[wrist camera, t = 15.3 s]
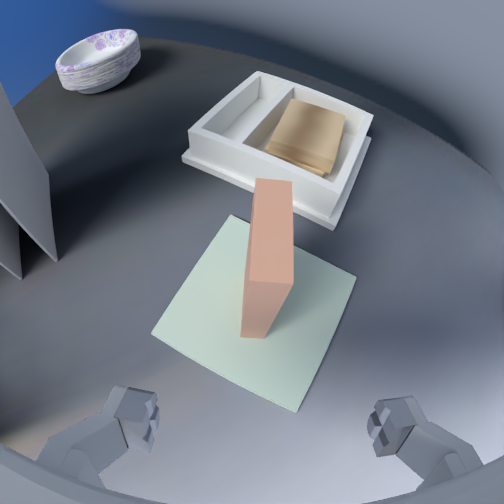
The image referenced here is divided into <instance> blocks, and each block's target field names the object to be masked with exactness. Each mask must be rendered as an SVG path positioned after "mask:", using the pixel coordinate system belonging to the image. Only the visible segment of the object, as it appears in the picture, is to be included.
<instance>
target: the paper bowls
mask: <svg viewBox="0 0 504 504" xmlns="http://www.w3.org/2000/svg"><path fill="white" fill-rule="evenodd" d="M140 57H141V53H140V46H139V41H138V35H137V33H136V32H135V31H133V30H129V29H118V30H111V31H106V32H102V33H99V34H96V35H93V36H91V37H88V38H86V39H84V40H82V41H80V42H78V43H76V44H75V45H73V46H72V47H70V48H69V49H67V50H66V51H65V52H64V53H63V54H62V55H61V56H60V57H59V58H58V60H57V62H56V69H57V72H58V75H59V78H60V81H61V83H62V86H63V87H64V88H65V89H68V90H77V91H78V92H80V93H83V94H94V93H99V92H102V91H105V90H108V89H110V88H112V87H114V86H116V85H117V84H119V83H120V82H122V81H123V80H124V79H125V78H126V77H127V76H128V75H129V73H130V70H131V69H132V68H133V67H134V66H135V65H136V64H137V63H138V61H139V60H140Z"/></svg>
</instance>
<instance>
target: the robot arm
mask: <svg viewBox="0 0 504 504" xmlns="http://www.w3.org/2000/svg"><path fill="white" fill-rule="evenodd" d="M156 402H157V395H156V393H155V392H150V391H145V390H141V389H136V388H131V387H126V386H122V385H118V384H117V385H116V386H114V387H113V389H112V391H111V393H110V395H109V397H108V399H107V401H106V403H105V405H104V407H103V409H102V411H101V413H100V414H99V413H96V414H94V415H92V416H90V417H88V418H86V419H84V420H83V421H81V422H79V423H77V424H75V425H73V426H71V427H69V428H67V429H65V430H64V431H62V432H60V433H58V434H56V435H54V436H52V437H50V438H49V439H48V441H47V443H46V445H45V446H44V448H43V450H42V452H41V453H40V455H39V457H38V459H37V461H34V460H32V459H30V458H28V457H26V456H24V455H22V454H20V453H18V452H16V451H14V450H12V449H10V448H9V447H7V446H5V445H3V444H2V443H0V504H166V503H161V502H156V501H151V500H146V499H142V498H138V497H133V496H130V495H126V494H122V493H118V492H115V491H111V490H108V489H106V487H105V486H104V484H103V482H102V481H101V479H100V478H99V476H98V474H99V473H100V472H101V471H103V470H104V469H105V468H106V467H108V466H109V465H110V464H111V463H113V462H114V461H115V460H116V459H118V458H119V457H120V456H121V455H123V454H124V453H125V452H126V451H128V449H132V450H137V451H142V452H147V453H151V449H152V446H153V442H154V436H153V433H154V432H156V431H157V429H158V425H159V418H160V417H159V407H158V406H157V405H156ZM374 408H375V410H376V411H375V412H373V413H372V414H371V415H370V417H369V419H368V424H367V429H368V433H369V436H370V437H371V438H372V439H374V443H373V447H374V450H375V453H376V456H377V457H382V456H388V455H394V454H396V456H397V457H398V458H399V459H401V460H402V461H403V462H404V463H405V464H406V465H407V466H409V467H410V468H411V469H412V470H413V471H414V472H415V473H417V474H418V475H419V476H420V477H421V478H422V479H424V481H423V482H422V483H421V484H420V485H419V486H418V487H417V489H416V491H414V492H410V493H407V494H403V495H399V496H395V497H391V498H387V499H383V500H378V501H374V502H369V503H363V504H504V455H503V456H502V457H500V458H498V459H496V460H494V461H492V462H490V463H487V464H485V465H483V463H482V462H481V460H480V458H479V456H478V455H477V453H476V451H475V450H474V448H473V446H472V445H470V444H469V443H467V442H465V441H463V440H462V439H460V438H458V437H456V436H455V435H453V434H451V433H450V432H448V431H446V430H444V429H443V428H441V427H439V426H438V425H436V424H434V423H433V422H428V420H427V418H426V417H425V415H424V413H423V411H422V410H421V408H420V406H419V405H418V403H417V401H416V399H415V398H414V397H413V396H407V397H401V398H392V399H384V400H379V401H377V402H376V404H375V406H374Z"/></svg>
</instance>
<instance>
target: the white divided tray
mask: <svg viewBox="0 0 504 504" xmlns="http://www.w3.org/2000/svg"><path fill="white" fill-rule="evenodd" d="M292 98H293V99H296V100H299V101H303V102H306V103H309V104H313V105H316V106H319V107H322V108H325V109H328V110H331V111H334V112H337V113H340V114H342V115H345V116H346V117H345V121H344V126H343V130H344V131H345V134H344V137H343V139H342V142H341V144H340V146H339V148H338V150H337V154H336V158H335V162H334V164H333V167H332V169H331V172H330V174H329V173H327V172H326V173H325V175H324V177H323V178H321V177H319V176H317V175H315V174H313V173H311V172H308V171H306V170H304V169H302V168H300V167H297V166H295V165H293V164H291V163H288V162H286V161H284V160H281V159H279V158H277V157H274V156H272V155H270V154H267V153H265V152H264V148H265V147H266V146H267V144H268V143H269V142H270V138H271V136H272V135H273V133H274V131H275V129H276V127H277V125H278V123H279V121H280V119H281V117H282V116H283V114H284V112H285V110H286V108H287V106H288V104H289V102H290V101H291V99H292ZM373 116H374V115H372V114H369V113H367V112H365V111H363V110H361V109H359V108H356V107H354V106H352V105H350V104H347V103H345V102H343V101H340V100H338V99H336V98H333V97H331V96H328V95H326V94H323V93H321V92H318V91H316V90H313V89H310V88H308V87H305V86H302V85H299V84H296V83H294V82H291V81H288V80H285V79H282V78H279V77H276V76H272V75H269V74H266V73H263V72H259V71H256V72H255V73H254V74H253V75H251V76H250V77H249V78H248V79H246V80H245V81H244V82H243V83H241V84H240V85H239V86H238V87H236V88H235V89H234V90H233V91H232V92H230V93H229V94H228V95H227V96H226V97H225V98H223V99H222V100H221V101H220V102H219V103H218V104H216V105H215V106H214V107H213V108H212V109H211V110H210V111H208V112H207V113H206V114H205V115H204V116H203V117H202V118H201V119H200V120H199V121H197V122H196V123H195V124H194V125H193V126H192V127H191V128H190V129H189V130H188V136H189V145H190V148H189V149H188V150H187V151H186V152H185V153H184V154H183V155H182V156H181V157H182V162H184V163H186V164H188V165H191V166H193V167H195V168H198V169H200V170H202V171H205V172H207V173H209V174H212V175H214V176H216V177H219V178H221V179H223V180H226V181H228V182H230V183H232V184H235V185H237V186H239V187H241V188H243V189H246V190H248V191H250V192H252V193H254V189H255V180H256V178H264V179H275V180H285V181H292V198H293V212H295V213H297V214H299V215H301V216H303V217H305V218H307V219H309V220H311V221H314V222H316V223H318V224H320V225H322V226H324V227H326V228H328V229H330V230H332V231H334V229H335V227H336V225H337V223H338V220H339V218H340V216H341V213H342V211H343V209H344V206H345V204H346V202H347V199H348V197H349V194H350V192H351V189H352V187H353V185H354V182H355V180H356V177H357V175H358V172H359V170H360V167H361V165H362V162H363V159H364V157H365V154H366V152H367V149H368V146H369V144H370V141H371V138H370V137H368V136H366V133H367V131H368V128H369V126H370V123H371V121H372V118H373Z"/></svg>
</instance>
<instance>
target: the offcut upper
mask: <svg viewBox="0 0 504 504" xmlns="http://www.w3.org/2000/svg"><path fill="white" fill-rule="evenodd" d="M345 117H346V116H345V115H342V114H340V113H337V112H334V111H331V110H328V109H325V108H322V107H319V106H316V105H313V104H309V103H306V102H303V101H299V100H296V99H293V98H292V99H291V101H290V102H289V104H288V106H287V108H286V110H285V112H284V114H283V116H282V117H281V119H280V121H279V123H278V125H277V127H276V129H275V131H274V133H273V135H272V136H271V138H270V142H269V149H268V153H269V154H273V155H276V156H279V157H282V158H285V159H288V160H291V161H295V162H298V163H301V164H304V165H306V166H309V167H312V168H315V169H318V170H321V171H324V172H327V173H329V174H330V172H331V169H332V167H333V164H334V162H335V158H336V154H337V150H338V146H339V142H340V138H341V134H342V130H343V126H344V121H345Z"/></svg>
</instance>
